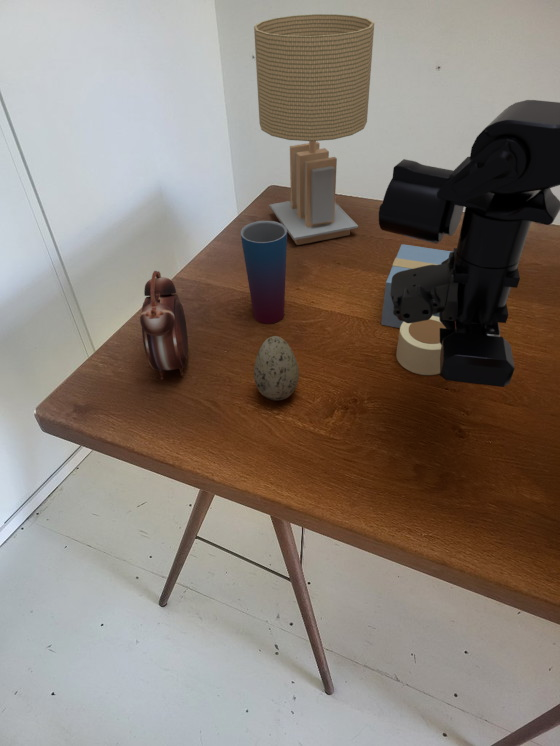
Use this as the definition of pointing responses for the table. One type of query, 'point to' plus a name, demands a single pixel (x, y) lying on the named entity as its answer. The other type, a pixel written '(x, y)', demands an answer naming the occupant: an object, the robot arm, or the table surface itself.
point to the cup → (266, 268)
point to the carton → (404, 261)
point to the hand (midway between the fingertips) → (456, 374)
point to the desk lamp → (313, 108)
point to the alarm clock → (163, 325)
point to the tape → (420, 346)
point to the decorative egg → (276, 369)
